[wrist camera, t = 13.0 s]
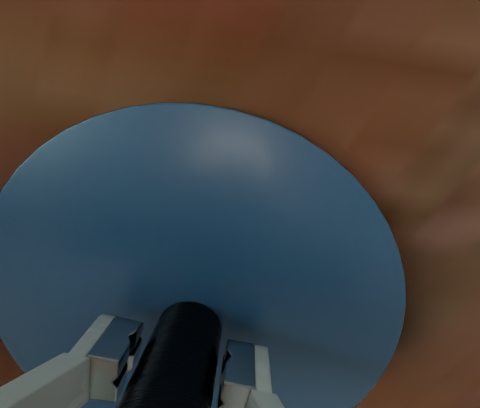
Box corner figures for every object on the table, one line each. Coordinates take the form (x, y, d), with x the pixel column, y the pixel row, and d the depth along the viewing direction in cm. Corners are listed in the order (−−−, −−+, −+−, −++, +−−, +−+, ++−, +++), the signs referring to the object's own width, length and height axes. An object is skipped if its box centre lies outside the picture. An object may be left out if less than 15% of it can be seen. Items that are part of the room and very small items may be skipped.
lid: (20, 398, 13) (-118, 560, 8) (-11, 53, 8) (-441, -76, 3) (317, 455, 13) (356, 640, 8) (467, 166, 8) (774, 216, 3)
